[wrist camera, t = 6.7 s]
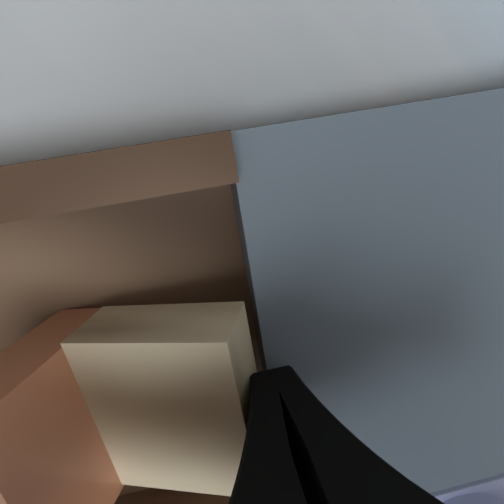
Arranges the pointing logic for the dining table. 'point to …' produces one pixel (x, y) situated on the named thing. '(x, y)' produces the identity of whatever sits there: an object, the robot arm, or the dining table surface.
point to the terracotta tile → (50, 423)
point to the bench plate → (386, 274)
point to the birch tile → (168, 391)
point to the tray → (122, 241)
